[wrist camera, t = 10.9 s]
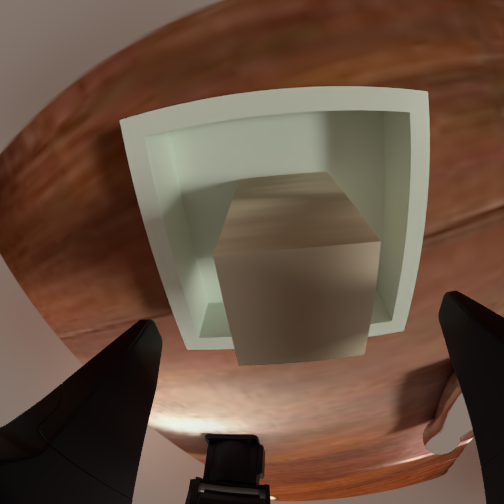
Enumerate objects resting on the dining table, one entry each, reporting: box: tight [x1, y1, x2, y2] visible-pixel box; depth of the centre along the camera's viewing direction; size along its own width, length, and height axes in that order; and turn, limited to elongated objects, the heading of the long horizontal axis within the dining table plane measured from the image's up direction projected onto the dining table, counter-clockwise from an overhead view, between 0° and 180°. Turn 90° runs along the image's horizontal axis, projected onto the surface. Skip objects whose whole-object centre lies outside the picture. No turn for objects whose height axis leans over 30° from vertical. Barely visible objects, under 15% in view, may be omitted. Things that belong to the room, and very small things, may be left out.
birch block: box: [213, 172, 381, 366], centre depth 12 cm, size 4×4×8 cm
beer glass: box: [423, 371, 473, 454], centre depth 22 cm, size 7×7×15 cm
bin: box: [120, 86, 430, 350], centre depth 14 cm, size 13×13×4 cm
